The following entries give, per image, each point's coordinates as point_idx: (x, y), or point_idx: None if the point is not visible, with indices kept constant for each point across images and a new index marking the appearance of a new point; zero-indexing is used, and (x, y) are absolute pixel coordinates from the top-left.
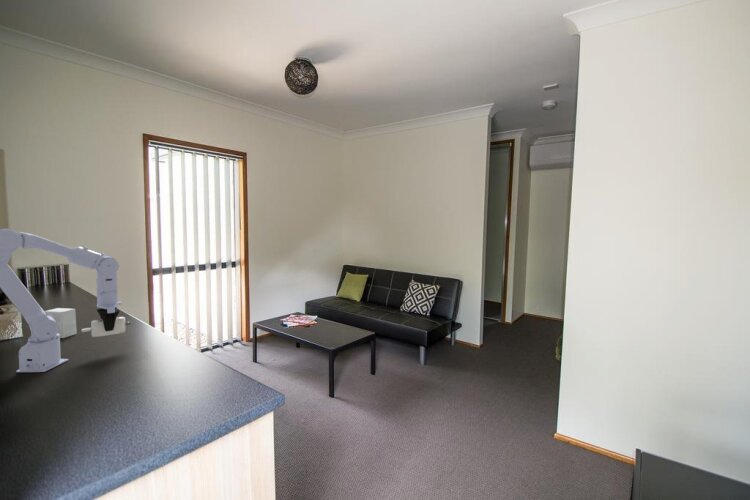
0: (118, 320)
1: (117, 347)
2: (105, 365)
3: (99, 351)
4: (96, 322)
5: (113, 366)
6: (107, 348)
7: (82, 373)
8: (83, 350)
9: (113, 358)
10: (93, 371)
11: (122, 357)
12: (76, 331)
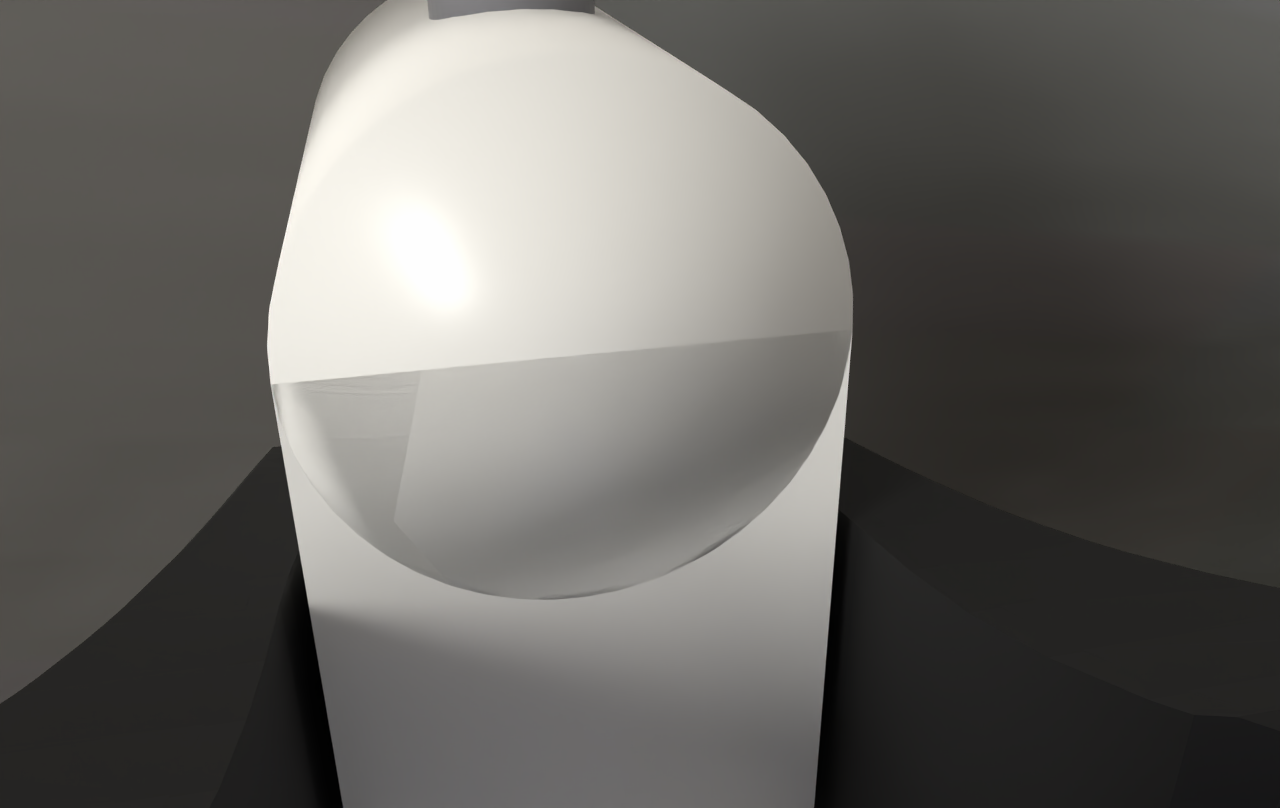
0: (828, 371)
1: (143, 69)
2: (1111, 326)
3: (258, 392)
4: None
5: (1244, 232)
6: (110, 258)
7: (1178, 559)
8: (17, 621)
9: (868, 203)
10: (1216, 457)
11: (927, 63)
12: None
